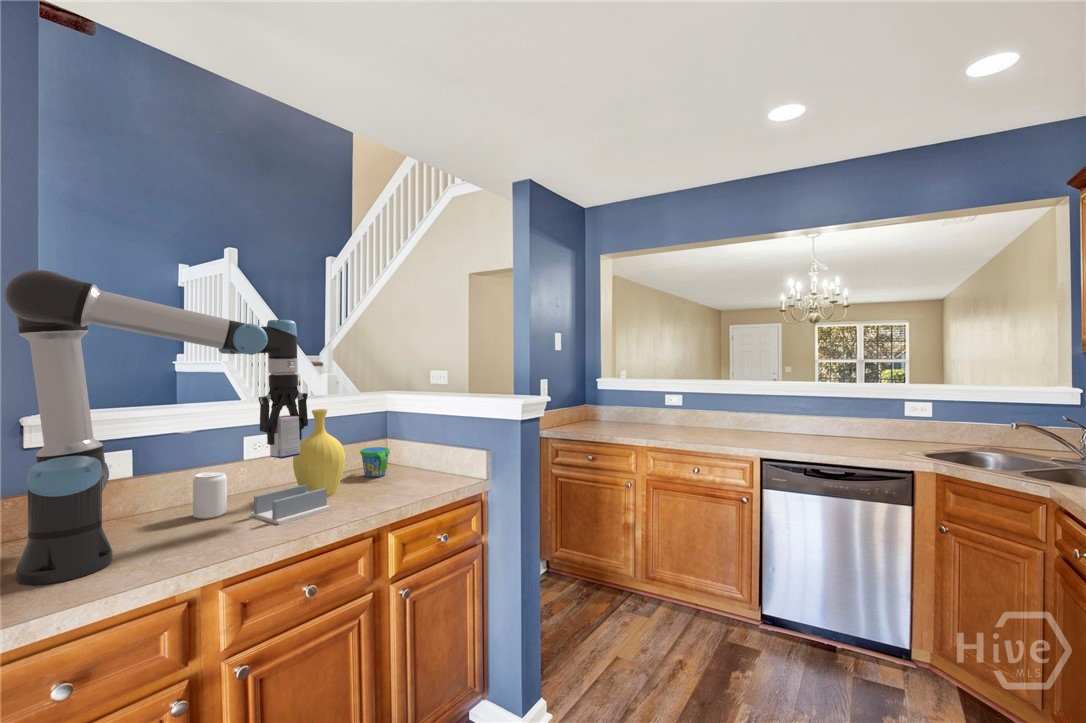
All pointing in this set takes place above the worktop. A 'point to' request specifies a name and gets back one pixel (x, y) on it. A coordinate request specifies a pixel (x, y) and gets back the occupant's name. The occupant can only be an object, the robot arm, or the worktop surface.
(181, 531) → the worktop surface
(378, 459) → the snack cup
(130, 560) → the worktop surface
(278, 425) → the supplement box
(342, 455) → the vase
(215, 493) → the beverage can
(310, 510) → the slot cradle
